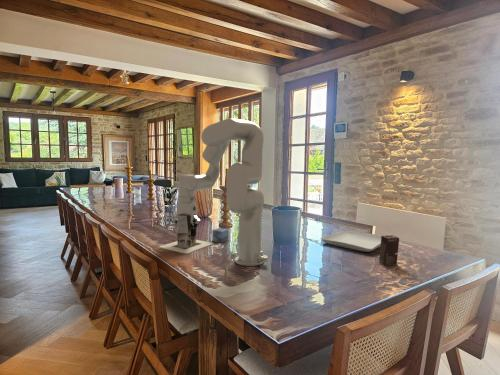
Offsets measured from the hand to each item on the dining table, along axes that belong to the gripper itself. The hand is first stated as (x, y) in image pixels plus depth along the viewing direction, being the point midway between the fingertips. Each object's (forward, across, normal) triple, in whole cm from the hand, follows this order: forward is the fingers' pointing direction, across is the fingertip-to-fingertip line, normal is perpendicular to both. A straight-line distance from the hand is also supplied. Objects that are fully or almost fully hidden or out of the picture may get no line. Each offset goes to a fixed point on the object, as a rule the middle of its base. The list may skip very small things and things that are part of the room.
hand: (186, 234), depth 162 cm
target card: (+6, 0, 0) cm, 6 cm away
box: (+6, -89, -27) cm, 93 cm away
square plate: (+6, -70, -51) cm, 87 cm away
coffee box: (+6, 0, 0) cm, 6 cm away
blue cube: (+6, -8, -17) cm, 20 cm away
